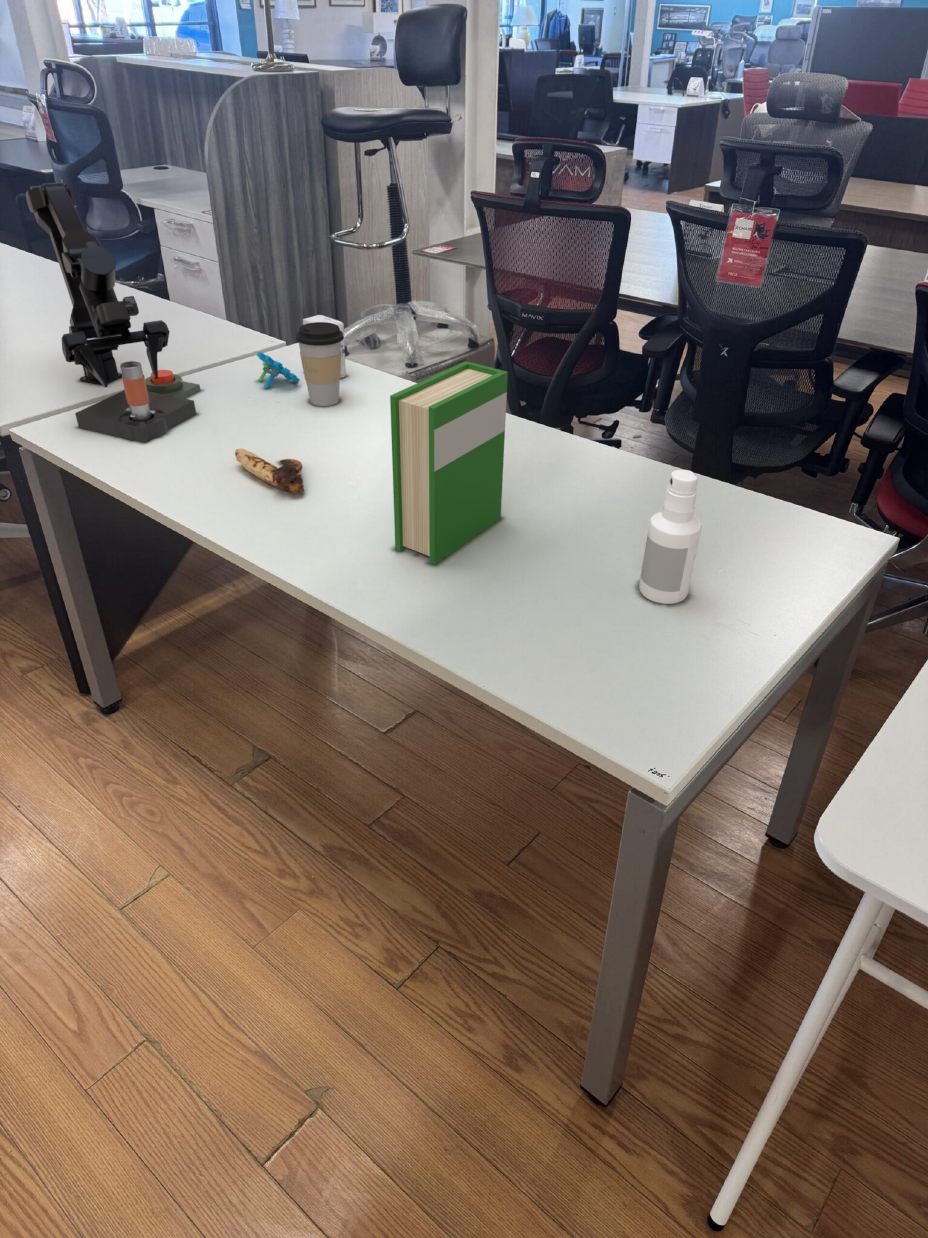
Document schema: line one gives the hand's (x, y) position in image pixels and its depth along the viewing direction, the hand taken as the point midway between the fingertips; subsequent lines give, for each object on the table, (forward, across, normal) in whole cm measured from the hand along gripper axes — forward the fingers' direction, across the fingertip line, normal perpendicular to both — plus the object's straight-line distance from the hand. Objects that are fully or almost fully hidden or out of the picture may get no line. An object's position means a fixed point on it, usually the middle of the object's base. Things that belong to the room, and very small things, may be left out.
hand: (131, 381), depth 157 cm
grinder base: (+4, 0, +9) cm, 10 cm away
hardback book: (+53, +30, -39) cm, 72 cm away
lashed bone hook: (+30, +14, -16) cm, 37 cm away
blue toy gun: (0, +32, +13) cm, 34 cm away
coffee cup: (+10, +36, +3) cm, 38 cm away
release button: (-7, +9, +16) cm, 19 cm away
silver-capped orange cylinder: (+8, 0, +5) cm, 9 cm away
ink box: (0, +43, +13) cm, 45 cm away
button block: (-5, +9, +18) cm, 20 cm away
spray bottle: (+73, +47, -60) cm, 105 cm away
